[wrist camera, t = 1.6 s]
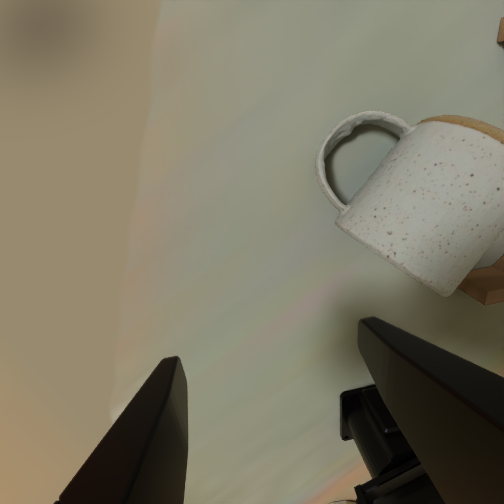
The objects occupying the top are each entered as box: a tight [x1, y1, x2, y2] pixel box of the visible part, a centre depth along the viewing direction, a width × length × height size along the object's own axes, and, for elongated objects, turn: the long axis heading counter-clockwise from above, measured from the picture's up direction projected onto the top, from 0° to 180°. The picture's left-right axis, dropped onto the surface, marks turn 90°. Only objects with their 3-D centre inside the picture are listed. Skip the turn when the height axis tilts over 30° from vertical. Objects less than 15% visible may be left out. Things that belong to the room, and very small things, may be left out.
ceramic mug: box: [315, 111, 504, 297], centre depth 17 cm, size 11×8×8 cm
